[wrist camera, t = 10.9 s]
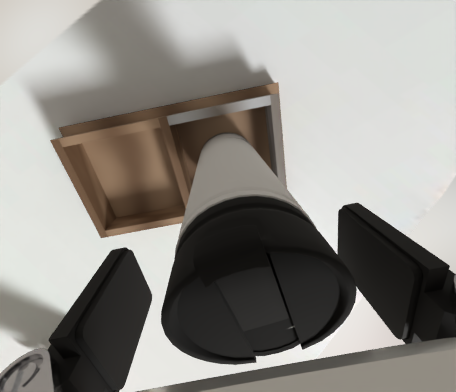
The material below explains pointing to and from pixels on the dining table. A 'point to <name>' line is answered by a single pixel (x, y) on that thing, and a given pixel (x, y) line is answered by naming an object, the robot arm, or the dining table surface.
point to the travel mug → (250, 264)
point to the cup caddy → (162, 155)
